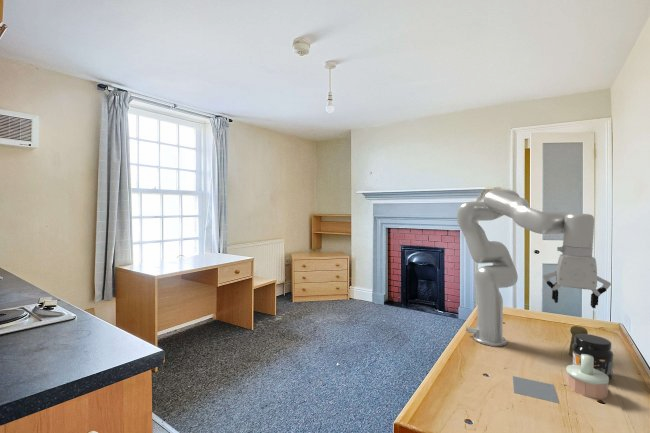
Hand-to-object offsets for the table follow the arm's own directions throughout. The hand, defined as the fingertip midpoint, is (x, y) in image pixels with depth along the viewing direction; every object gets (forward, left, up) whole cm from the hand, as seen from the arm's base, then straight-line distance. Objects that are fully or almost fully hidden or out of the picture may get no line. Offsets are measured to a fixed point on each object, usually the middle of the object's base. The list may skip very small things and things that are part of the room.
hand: (573, 304), depth 105 cm
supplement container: (+6, +7, -25) cm, 27 cm away
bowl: (+2, -7, -25) cm, 26 cm away
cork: (+5, +22, -25) cm, 34 cm away
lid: (+2, -7, -20) cm, 21 cm away
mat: (-12, -14, -25) cm, 30 cm away
